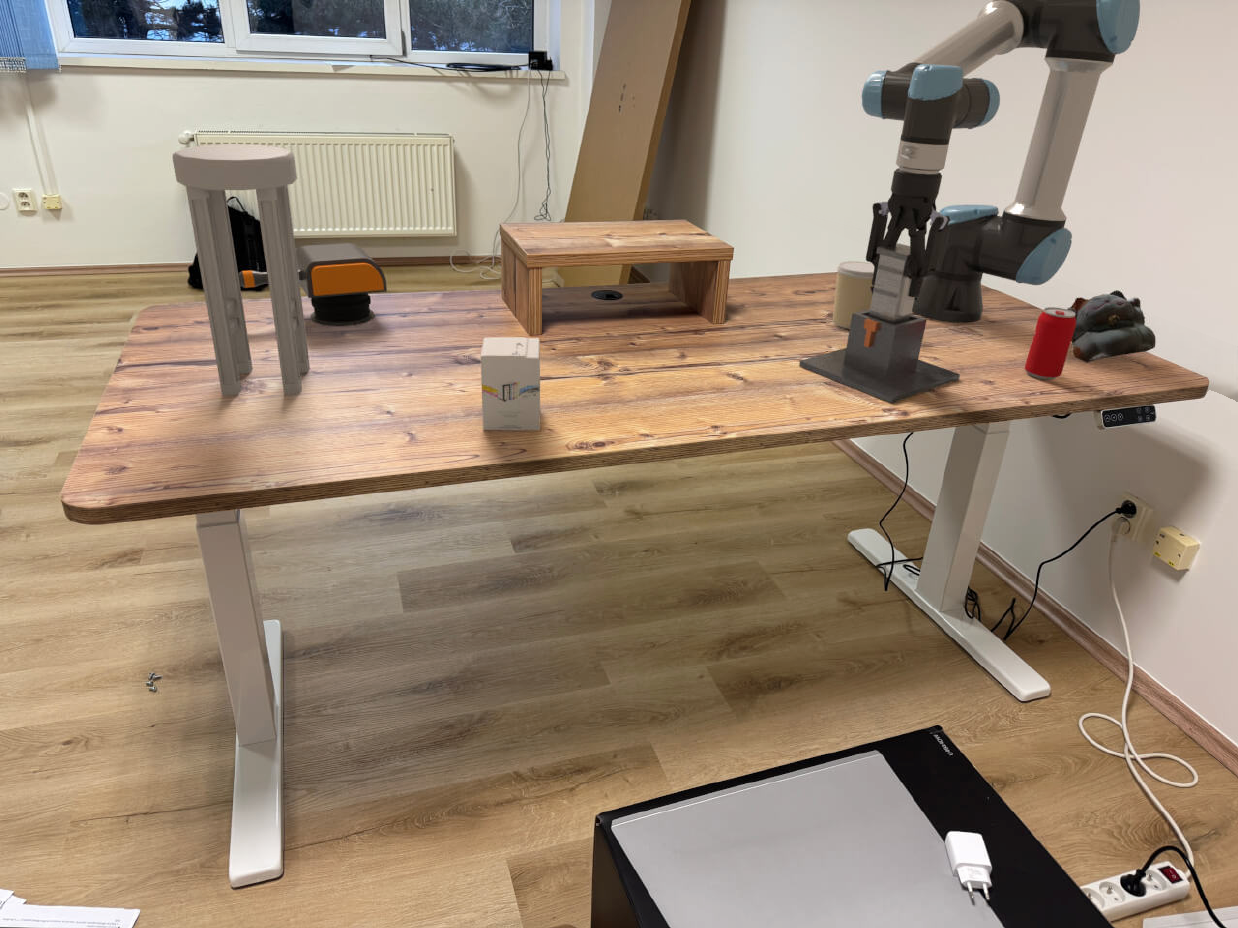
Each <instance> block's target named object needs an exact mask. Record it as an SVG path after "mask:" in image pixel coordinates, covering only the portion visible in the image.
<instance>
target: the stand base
mask: <svg viewBox="0 0 1238 928" xmlns="http://www.w3.org/2000/svg"><path fill="white" fill-rule="evenodd" d="M869 312H870V309H868V310H864V311H860V312H856V313H853V314H852V320H851V325H850V329H849V331H848V338H847V341H846V342H847V343H846V347H845V348H841V349H837V350H834V351H830V352H826V353H823V354H819V355H816V356H813V357H808V358H805V359H801V360H799V365H798V366H799V367H801V368H804V369H806V370H807V371H811V372H813V373H816V374H818V375H821V376H823V377H826V378H828V379H830V380H833V381H836V382H838V383H841V384H843V385H845V386H847V387H850V388H852V389H855V390H858V391H859V392H863V393H865V394H867V395H870V396H873V397H875V398H877V399H880V400H882V401H885V402H886V403H890V404H893V403H897V402H899V401H902V400H905V399H908V398H911V397H913V396H916V395H919V394H922V393H925V392H928V391H930V390H934V389H936V388H939V387H941V386H944V385H947V384H950V383H953V382H956V381H959V380H960V376H961V374H959V373H957V372H955V371H951V370H949V369H946V368H943V367H940V366H938V365H936V364H935V365H934V364H932V363H930V362H926V361H924V360H920V359H919V356H920V352H921V349H922V343H923V338H924V334H925V330H926V329H925V328H926V325H927V321H928V320H927V319H928V318H925V317H922V316H919V315H916V314H912V313H911V317H910V321H908V322H904V323H900V324H897V325H892V324H889V323H886V322H883V321H880V320H877V319H874V318H871V317H869Z"/></svg>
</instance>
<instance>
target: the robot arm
mask: <svg viewBox="0 0 1238 928" xmlns="http://www.w3.org/2000/svg"><path fill="white" fill-rule="evenodd" d="M1140 15H1141V0H992V1H991V2H989V3H987V4H986V5H984V7H982V9H981V10H980V11H979V12H978V14H977V17H976V18H974V19H973V20H972V21H970V22H968V23H967V24H965V25H964V26H962V27H961V28H960V29H957V30H956V31H955V32H954V33H952V34H950V35H949V36H947V37H945V38H944V39H943V40H941V41H940V42H939V43H937V44H935V45H934V46H933V47H931V48H929V49H927V50H926V51H925V52H923V53H922V54H920V55H919V56H917V57H915V58H914V59H913V60H911V61H909V62H908V63H906V64H905V65H904V66H902V67H901V68H899V69H897V70H894V71H891V70H890V69H886V70H876V71H873V72H872V73H871V74H869V76H868V77H867V79H866V80H865V83H864V85H863V87H862V90H861V91H862V92H861V107H862V108H863V111H864V112H865V113H866V114H867V115H868V116H870V117H875V118H880V119H882V120H894V121H902V122H903V124H902V130H901V135H900V140H899V144H898V150H897V155H896V161H895V166H897V167H898V168H896V169H895V170H894V171H893V174H892V176H893V177H892V181H891V187H890V191H891V194H890V197H889V198H888V200H887V201H880V202H874V203H873V204H872V219H873V220H872V223H871V229H870V233H869V234H870V235H869V238H868V245H867V249H866V255H865V262H867V263H872V264H873V265H874V273H873V279H872V285H873V286H874V285H875V280H876V275H877V269H878V264H879V259H880V254H878V253H876V252H877V247H881V246H886V247H890V246H895V245H896V244H898V241H899V240H900V236H901V235H902V232H903V231H905V229H906V230H907V231H908V233H907V235H908V236H909V242H910V243H909V244H910V245H909V246H910V253H912V254H914V256H913V260H910V263H911V275H908V277H906V280H905V285H904V290H903V295H902V299H901V304H900V309H899V314H898V315H901V316H903V315H907V314H912V313H914V315H916V316H918V317H921V318H924V319H929V320H934V321H937V322H944V323H953V324H968V323H969V324H970V323H971V324H972V323H974V322H978V321H980V320H981V319H982V315H983V311H984V305H983V293H982V279H983V275H984V274H986V275H988V276H989V275H990V276H993V277H999V278H1001V279H1005V280H1009V281H1013V282H1016V283H1018V284H1025V285H1032V286H1040V285H1043V284H1046V283H1047V282H1048V281H1050V280H1051V279H1053V277H1055V275H1056V274H1057V273H1058V272H1059V271H1060V269H1061V267H1062V266H1063V265H1064V263H1065V261H1066V259H1067V257H1068V255H1069V251H1070V250H1071V247H1072V246H1071V245H1072V239H1073V233H1072V232H1071V230H1069V229H1068V228H1066V227H1065V225H1066V222H1067V216H1066V215H1065V213H1064V211H1063V209H1062V205H1063V202H1064V198H1065V195H1066V192H1067V189H1068V185H1069V183H1070V178H1071V176H1072V172H1073V168H1074V166H1075V161H1076V158H1077V155H1078V152H1079V148H1080V146H1081V145H1080V144H1081V142H1082V138H1083V135H1084V131H1085V129H1086V125H1087V122H1088V117H1089V115H1090V111H1091V108H1092V105H1093V102H1094V98H1095V94H1096V91H1097V87H1098V85H1099V82H1100V81H1099V80H1100V78H1101V75H1102V74H1103V73H1104V72H1105V71H1107V70H1108V69H1109V68H1111V67H1112V66H1114V65H1113V64H1114V61H1115V58H1116V55H1120V54H1124V53H1125V52H1126V51H1128V49H1129V48H1130V47H1131V46H1132V42H1133V41H1134V40H1135V37H1136V35H1137V31H1138V28H1139V21H1140ZM1021 48H1031V49H1033V48H1034V49H1045V50H1046V52H1045V55H1044V59H1043V60H1044V61H1045V63H1046V65H1047V66H1048V68H1049V74H1048V77H1047V81H1046V84H1045V88H1044V91H1043V96H1042V100H1041V104H1040V107H1039V111H1038V114H1037V118H1036V121H1035V125H1034V128H1033V133H1032V136H1031V140H1030V144H1029V146H1028V151H1027V154H1026V157H1025V161H1024V166H1023V167H1022V168H1023V169H1022V172H1021V177H1020V180H1019V183H1018V187H1017V191H1016V194H1015V199H1014V201H1013V202H1012V203H1010V204H1009V205H1008V206H1006V207H1004V208H1003V212H1002V216H1001V215H999V214H1000V210H999V208H998V206H996V205H989V204H955V205H952V204H951V205H946V206H944V207H942V208H941V209H940V210H939V212H938V211H937V205H936V200H937V198H938V196H939V193H940V189H941V184H942V178H943V175H942V173H941V172H940V171H942V170H944V169H945V165H946V159H947V157H948V156H947V155H948V151H949V145H950V140H951V136H952V130H955V129H956V130H958V129H967V130H972V129H974V128H980V127H983V126H985V125H986V124H988V123H990V122H991V120H993V119H994V118H995V116H996V115H997V114H998V111H999V107H1000V105H1001V95H1000V91H999V88H998V87H997V86H996V84H995V83H994V82H992V81H991V80H988V79H984V78H981V77H972V78H967V77H966V76H967V75H969V74H970V73H972V72H973V71H975V70H976V69H978V68H979V67H980V66H982V65H984V64H985V63H986V62H988V61H989V60H991V59H992V58H994V57H996V56H1002V55H1006V54H1008V53H1010V52H1012V51H1014V50H1015V49H1021ZM965 77H966V78H965ZM889 214H890V217H891V218H890V220H889V222H888V219H889ZM929 221H930V222H929ZM928 222H929V225H930V229H929V230H928V228H927V227H928V225H927V223H928ZM886 230H887V231H886ZM927 230H928V231H927ZM927 233H928V236H927V240H926V235H927Z"/></svg>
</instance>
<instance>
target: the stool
mask: <svg viewBox="0 0 1238 928" xmlns="http://www.w3.org/2000/svg"><path fill="white" fill-rule="evenodd" d="M172 164H173V168H174V169H173V170H174V173H175V175H174V176H175V179H176V182H177V183H178V184H180V185H182V186H183V187H185V189H186V190H185V191H186V195H187V200H188V207H189V213H190V219H191V223H192V224H191V225H192V228H193V229H192V230H193V235H194V243H195V247H196V248H195V249H196V252H197V258H198V259H197V260H198V264H199V270H200V275H201V281H202V282H201V283H202V287H203V293H204V297H205V299H204V300H205V305H206V311H207V316H208V323H209V327H210V332H211V338H212V339H211V340H212V345H213V350H214V357H215V362H216V363H215V364H216V366H217V372H218V378H219V384H220V389H221V396H222V397H224V396H225V397H228V396H229V397H230V396H231V397H232V396H239V395H240V393H241V391H242V386H241V380H240V375H241V374H242V375H243V374H245V375H246V374H251V373H252V372H253V369H254V368H253V363H252V356H251V355H252V354H251V350H250V344H249V343H250V342H249V337H248V329H247V323H246V317H245V311H244V310H245V309H244V304H243V297H242V296H243V295H242V290H241V286H240V283H239V277H238V274H239V271H238V265H237V260H236V259H237V257H236V252H235V251H236V250H235V245H234V238H233V234H232V233H233V232H232V227H231V220H230V214H229V208H228V206H229V205H228V200H227V195H226V191H251V190H255V194H256V200H257V202H256V203H257V208H258V209H257V210H258V215H259V222H260V230H261V236H262V237H261V238H262V244H263V245H262V246H263V252H264V259H265V265H266V272H267V274H268V282H269V283H268V287H269V289H268V290H269V295H270V301H271V302H270V303H271V311H272V317H273V324H274V332H275V338H276V339H275V340H276V345H277V352H278V360H279V366H280V375H281V381H282V389H283V395H301V392H302V389H303V388H302V381H301V380H302V379H301V374H303V373H304V374H305V373H309V371H310V369H311V366H310V358H309V349H308V342H307V333H306V325H305V317H304V309H303V301H302V292H301V285H300V283H299V275H298V266H297V258H296V250H297V249H296V243H295V236H294V234H295V233H294V227H293V226H294V225H293V219H292V211H291V210H292V209H291V201H290V193H289V187H288V185H292V184H294V183H295V182H296V181H297V179H298V177H297V176H298V174H297V166H296V159H295V153H294V152H292V150H288V149H286V148H283V147H279V146H272V145H271V146H270V145H264V144H250V143H249V144H247V143H246V144H245V143H244V144H242V143H222V144H221V143H220V144H204V145H197V146H189V147H183V148H180V149H179V150H176V151H175V152H173V154H172ZM300 373H301V374H300ZM239 374H240V375H239Z"/></svg>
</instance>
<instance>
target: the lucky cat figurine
mask: <svg viewBox="0 0 1238 928" xmlns="http://www.w3.org/2000/svg"><path fill="white" fill-rule="evenodd" d="M1141 306H1142V305H1141V299H1139V297H1136V296H1135V297H1131V298H1128V299H1127V298H1126V297H1125V295H1124V293H1123V292H1122V291H1121V290H1117V289H1116V290H1114V291H1112V292H1110V293H1109V294H1108V293H1107V294H1105V293H1103V294H1099V295H1096V296H1093V297H1091V298H1089V299H1087V298H1084V297H1076V298H1075V299H1074V302H1073V303H1072V304H1071V306H1070V307H1068V308H1066V309H1067V310H1070V311H1073V312H1074V313H1075V314H1076V315H1075V318H1076V326H1075V330H1074V333H1073V336H1072V340H1071V345H1072V354H1073V356H1074V358H1076V359H1078V360H1080V361H1082V362H1085V363H1089V362H1092V361H1093V362H1094V361H1098V360H1102V359H1107V358H1112V357H1117V356H1123V355H1127V354H1128V355H1131V354H1139V353H1144V352H1148V351H1151V350H1152V349H1155V348H1156V342H1157V341H1156V336H1155V333H1154V331H1153V330H1152V328H1150V327H1149V326H1147V325H1146V317H1145V314H1144V312H1143V309H1142V308H1141Z"/></svg>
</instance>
